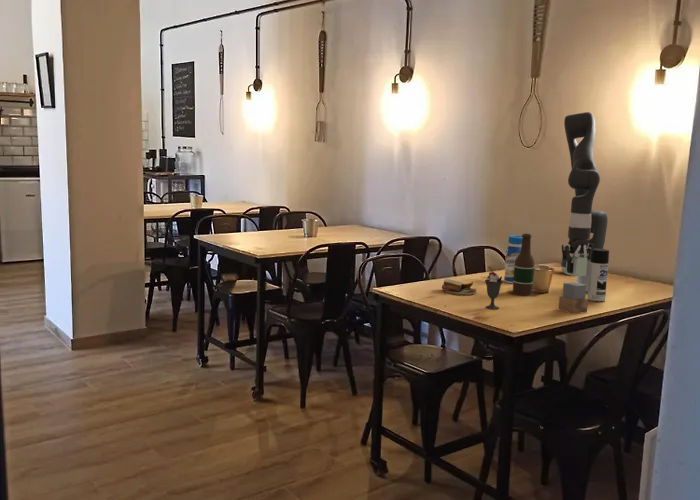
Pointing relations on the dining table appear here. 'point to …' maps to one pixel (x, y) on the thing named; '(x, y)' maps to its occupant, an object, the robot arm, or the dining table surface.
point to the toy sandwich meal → (458, 287)
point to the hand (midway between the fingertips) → (575, 272)
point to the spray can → (598, 275)
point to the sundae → (493, 288)
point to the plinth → (573, 305)
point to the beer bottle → (524, 268)
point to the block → (578, 266)
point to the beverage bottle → (512, 257)
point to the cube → (574, 290)
